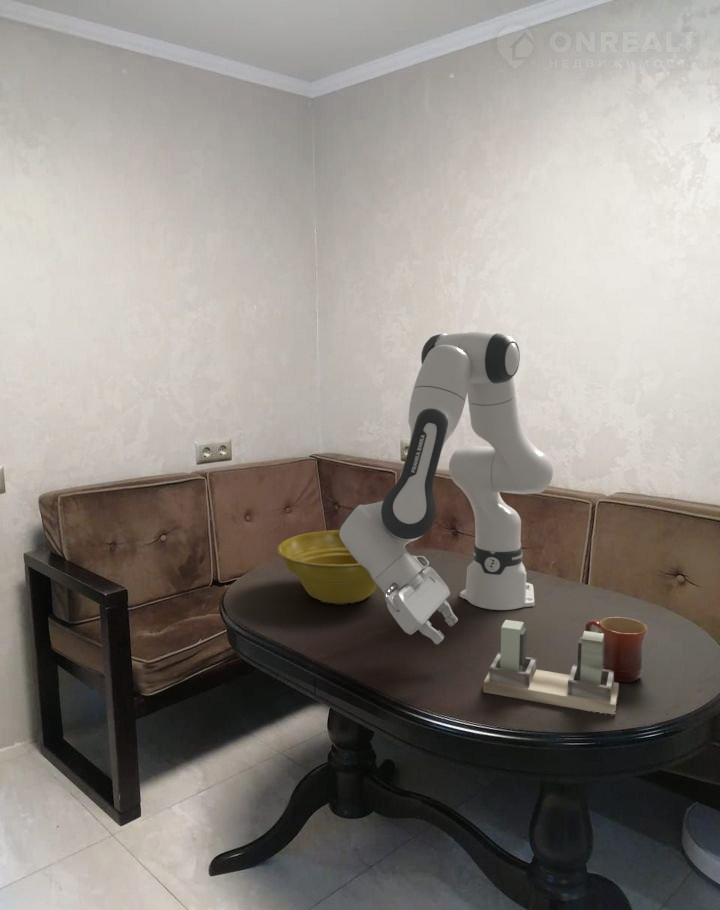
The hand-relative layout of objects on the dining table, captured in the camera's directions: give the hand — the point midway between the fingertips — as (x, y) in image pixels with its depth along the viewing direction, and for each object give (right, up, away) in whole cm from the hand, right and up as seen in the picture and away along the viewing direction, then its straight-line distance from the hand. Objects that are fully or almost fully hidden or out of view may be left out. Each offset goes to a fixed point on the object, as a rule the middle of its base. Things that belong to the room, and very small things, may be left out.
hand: (448, 632), depth 140 cm
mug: (+32, -9, +2) cm, 34 cm away
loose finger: (+11, -7, -4) cm, 14 cm away
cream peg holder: (+18, -10, -6) cm, 21 cm away
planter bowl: (-22, -2, +47) cm, 52 cm away
